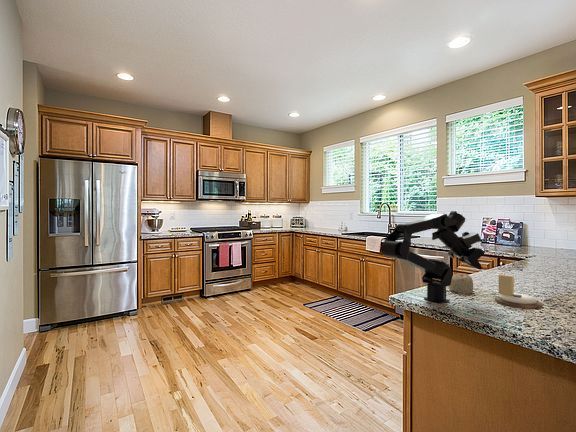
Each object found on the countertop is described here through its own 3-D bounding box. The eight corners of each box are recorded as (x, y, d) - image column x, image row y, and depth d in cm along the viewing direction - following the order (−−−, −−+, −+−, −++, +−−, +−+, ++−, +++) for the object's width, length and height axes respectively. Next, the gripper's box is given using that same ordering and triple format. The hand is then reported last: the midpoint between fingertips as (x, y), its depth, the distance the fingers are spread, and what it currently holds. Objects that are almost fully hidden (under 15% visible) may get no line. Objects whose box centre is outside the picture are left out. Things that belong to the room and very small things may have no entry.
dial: (528, 306, 105) (528, 281, 105) (492, 298, 115) (492, 276, 115) (542, 301, 110) (542, 278, 110) (506, 294, 120) (506, 273, 120)
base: (532, 311, 103) (532, 307, 103) (487, 301, 115) (487, 298, 115) (549, 304, 110) (549, 301, 110) (505, 295, 122) (505, 293, 122)
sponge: (470, 303, 126) (484, 283, 126) (451, 290, 126) (465, 270, 126) (458, 297, 135) (471, 278, 135) (440, 284, 135) (453, 266, 135)
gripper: (478, 226, 108) (512, 257, 107) (455, 224, 127) (484, 251, 126) (455, 248, 109) (488, 279, 108) (436, 243, 128) (463, 270, 127)
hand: (481, 268), depth 117 cm, fingers closed
